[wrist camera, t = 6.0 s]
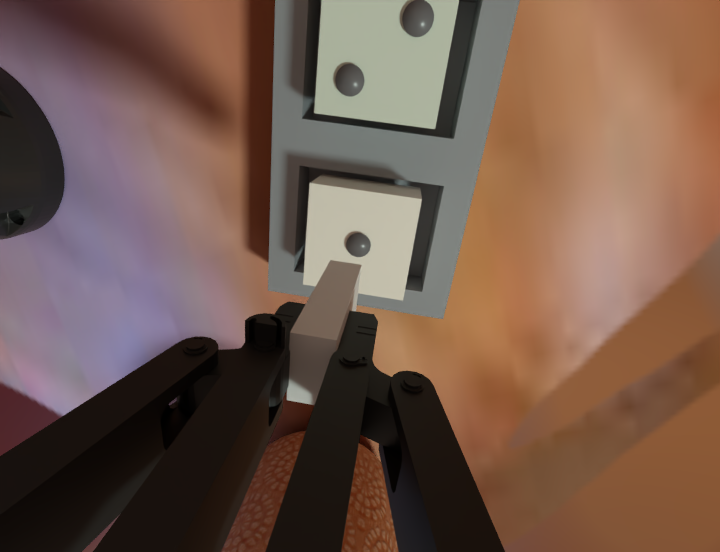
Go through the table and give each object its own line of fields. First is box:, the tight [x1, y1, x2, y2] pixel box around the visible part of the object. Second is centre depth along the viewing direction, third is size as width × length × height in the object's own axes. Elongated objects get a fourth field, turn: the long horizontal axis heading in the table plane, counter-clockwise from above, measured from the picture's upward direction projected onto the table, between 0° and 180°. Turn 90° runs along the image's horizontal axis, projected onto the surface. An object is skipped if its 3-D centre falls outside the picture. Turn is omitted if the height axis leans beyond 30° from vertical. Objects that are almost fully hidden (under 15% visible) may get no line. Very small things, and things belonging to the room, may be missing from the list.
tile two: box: [314, 0, 459, 129], centre depth 22 cm, size 7×7×4 cm
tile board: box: [268, 0, 520, 319], centre depth 25 cm, size 14×34×4 cm, turn 173°
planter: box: [221, 431, 399, 552], centre depth 36 cm, size 17×17×15 cm
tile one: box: [303, 174, 422, 301], centre depth 26 cm, size 7×7×4 cm
